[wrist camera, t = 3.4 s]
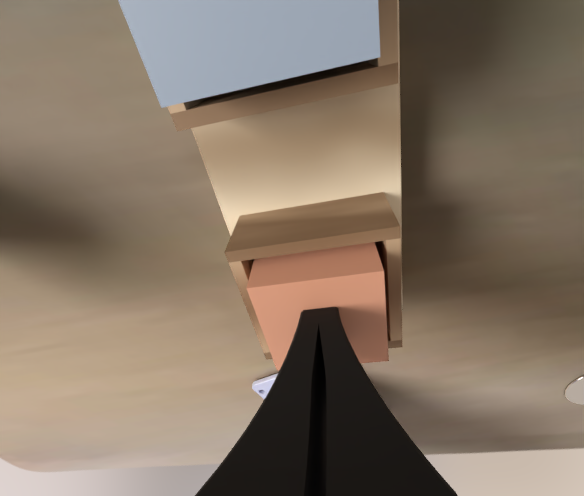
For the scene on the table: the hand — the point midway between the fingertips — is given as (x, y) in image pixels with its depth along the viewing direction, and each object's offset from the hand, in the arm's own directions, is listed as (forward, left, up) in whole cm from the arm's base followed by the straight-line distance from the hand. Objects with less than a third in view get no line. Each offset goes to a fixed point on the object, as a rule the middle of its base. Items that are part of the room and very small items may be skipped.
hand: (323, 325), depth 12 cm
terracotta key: (0, 0, -3) cm, 3 cm away
